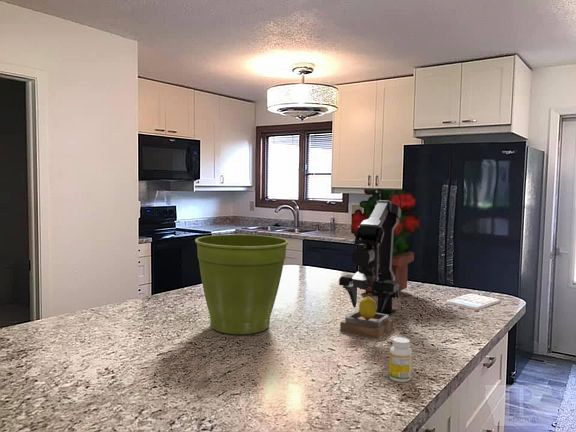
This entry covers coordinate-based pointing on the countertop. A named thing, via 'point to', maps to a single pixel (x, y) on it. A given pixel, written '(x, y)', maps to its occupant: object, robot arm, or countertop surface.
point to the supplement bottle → (400, 360)
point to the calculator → (473, 301)
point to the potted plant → (401, 231)
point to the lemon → (367, 308)
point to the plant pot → (240, 279)
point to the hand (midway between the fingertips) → (367, 309)
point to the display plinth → (367, 325)
